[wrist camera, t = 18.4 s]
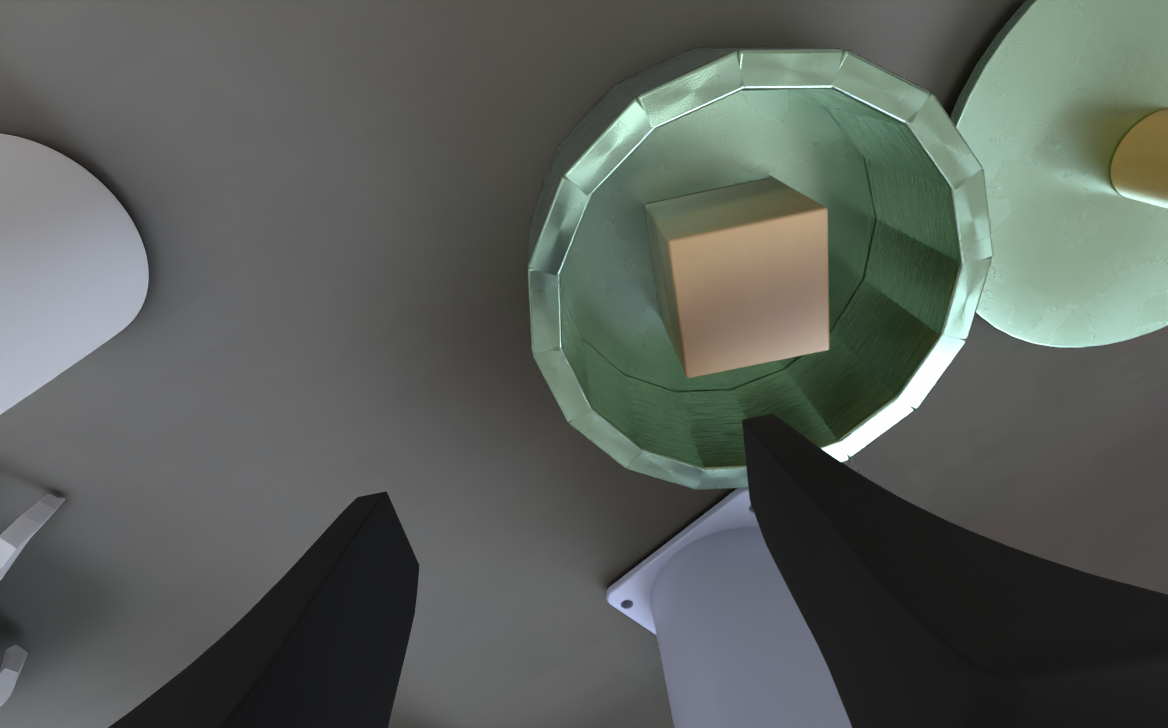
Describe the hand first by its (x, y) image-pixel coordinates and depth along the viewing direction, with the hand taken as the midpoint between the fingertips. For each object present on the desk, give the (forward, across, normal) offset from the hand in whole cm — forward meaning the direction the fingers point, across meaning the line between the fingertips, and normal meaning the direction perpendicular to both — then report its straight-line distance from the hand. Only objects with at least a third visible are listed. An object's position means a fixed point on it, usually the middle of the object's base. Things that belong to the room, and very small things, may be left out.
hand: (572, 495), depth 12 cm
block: (+9, -5, -1) cm, 11 cm away
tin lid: (+9, -18, -2) cm, 20 cm away
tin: (+9, -5, -1) cm, 11 cm away
